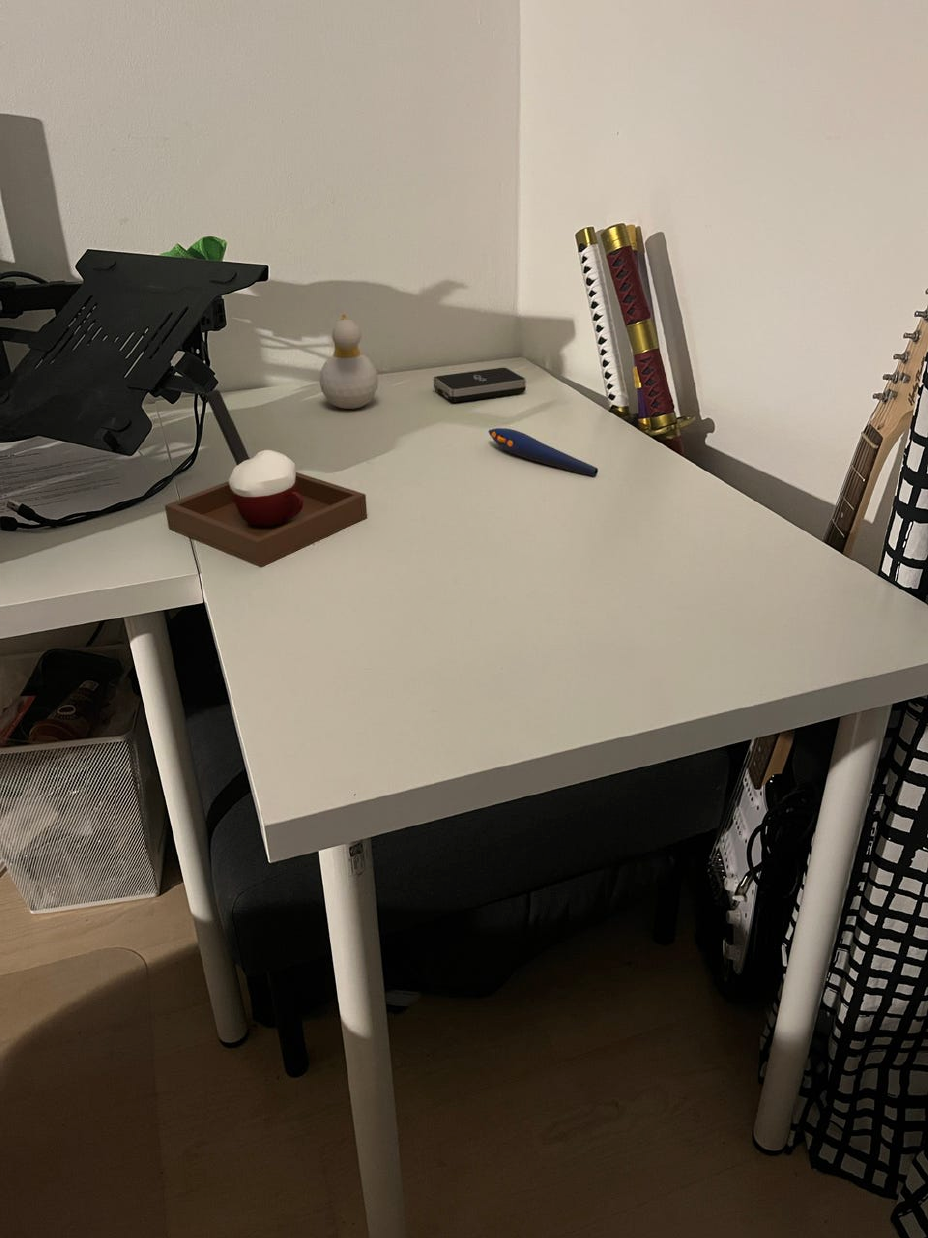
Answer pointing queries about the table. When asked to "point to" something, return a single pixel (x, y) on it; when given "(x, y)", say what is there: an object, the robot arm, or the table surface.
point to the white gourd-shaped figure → (348, 370)
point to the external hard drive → (479, 384)
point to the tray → (227, 531)
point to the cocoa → (258, 476)
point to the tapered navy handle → (538, 451)
